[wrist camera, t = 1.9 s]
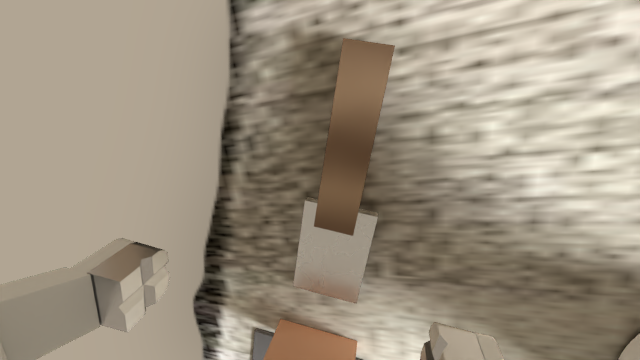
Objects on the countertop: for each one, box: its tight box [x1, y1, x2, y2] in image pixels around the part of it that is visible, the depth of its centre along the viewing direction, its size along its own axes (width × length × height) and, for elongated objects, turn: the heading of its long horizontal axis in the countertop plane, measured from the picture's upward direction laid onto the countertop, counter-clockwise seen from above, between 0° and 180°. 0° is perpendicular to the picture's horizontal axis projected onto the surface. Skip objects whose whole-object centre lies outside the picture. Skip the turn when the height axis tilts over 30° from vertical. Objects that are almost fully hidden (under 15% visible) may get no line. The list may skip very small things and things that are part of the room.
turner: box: [293, 38, 395, 303], centre depth 22 cm, size 21×6×4 cm, turn 172°
